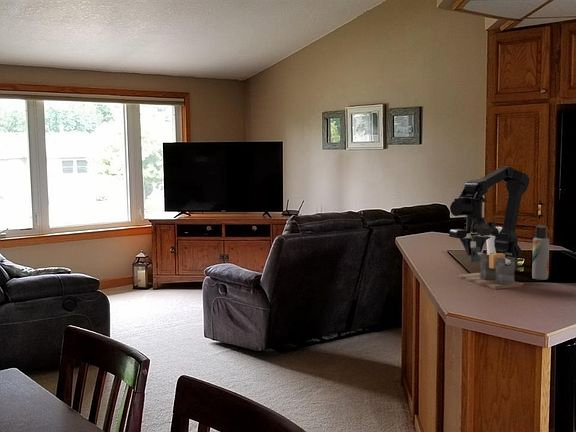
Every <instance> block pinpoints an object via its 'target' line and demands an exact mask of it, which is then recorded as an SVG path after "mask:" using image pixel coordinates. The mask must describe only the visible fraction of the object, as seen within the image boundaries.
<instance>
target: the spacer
mask: <svg viewBox="0 0 576 432" xmlns="http://www.w3.org/2000/svg"><path fill="white" fill-rule="evenodd" d="M496 257H501V258H505V254H503V253H494V254H489V268H493V269H495V268H496Z"/></svg>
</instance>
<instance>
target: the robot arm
mask: <svg viewBox="0 0 576 432" xmlns="http://www.w3.org/2000/svg"><path fill="white" fill-rule="evenodd" d="M502 181H503V182H505V188H506V191H507V193H508V196H507V199H506V200H507V201H506V206H505V212H504V216H503V222H502V226H501V227H502V230H501V231H500V232H499V231H498V229H497V228H496V227H497V225H496V222H494V221H490V222H486V221H485V219H486V218H485V217H484V216H483V203H487V200H486V198H484V196H485V195H486V194H487V193H488V192H489V189H490V188H492V187H493V186H495V185H497V184H498V183H500V182H502ZM529 184H530V177H529V176H528V174H527V173H524V172H522V171H520V170H517V169H515V168H513V167H512V166H505V165H503V166H500V167H498V168H497V169H495V170H494V171H492V172H490V173H488V174H487V175H485V176H483V177H481V178H477V179H470V180H469V181H467V182H465V183H464V187H463V188H462V190H461V192H460V194H459V195H458V197H454V200H453V201H452V202H451V204H450V206H449V210H450V213H451V215H452V216H454V217H460V216H463V217H464V220H466V226H464V228H463V229H461V228H455V229H454V228H453V229H450V230H449V233H448V236H449V238H453V239H459V241H460V242H461V244H462V245H463V247H464V251H465V252H466V255H469V256H470V252H471V241H472V239H473V238H472V237H471V235H478V236H475V237H476V247H480V253H481V250H482V248H483V245H484V246H485V244H484V243H486V240H487V239H489V238H490V237H488V236H490V235H492V236H495V240H494V247H495V250H496V253H503V254H505V259H506V257H513V258H515V269H514V273H516V272H521V269H518V264H519V263H518V261H519V260H518V259H519V258H520V257H522V256H523V255H522V254H523V250H522V248H521V247H520V246H519V245H518V240H519V237H518V236H517V233H516V228H517V221H518V217H519V211H520V206H521V200H522V196H523V195H524V194H525V193H526V191H527V190H528V187H529ZM485 222H486V223H485Z"/></svg>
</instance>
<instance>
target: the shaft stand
mask: <svg viewBox="0 0 576 432" xmlns="http://www.w3.org/2000/svg"><path fill="white" fill-rule="evenodd" d="M490 254H494V253H490ZM506 259H509V260H511V264H510V265H506V264H505V259H504V258H500V257H499V258H496V268H495V269H493V268H489V255H487V253H484V254H481V258H480V269H479V270H480V272H473V273H472V272H471V273H464V274H463V273H462V274H457V277H456V278H457V279H458V278H459V279H461V280H465V281H467V282H471V283H474V284H478V285H480V286H483V287H484V286H485V287H487V288H491V289H494V290H499V289H510V288H521V287H524V283H523V282H519V281H516V280H515V272H514V269H515V258H513V257H506Z"/></svg>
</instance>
